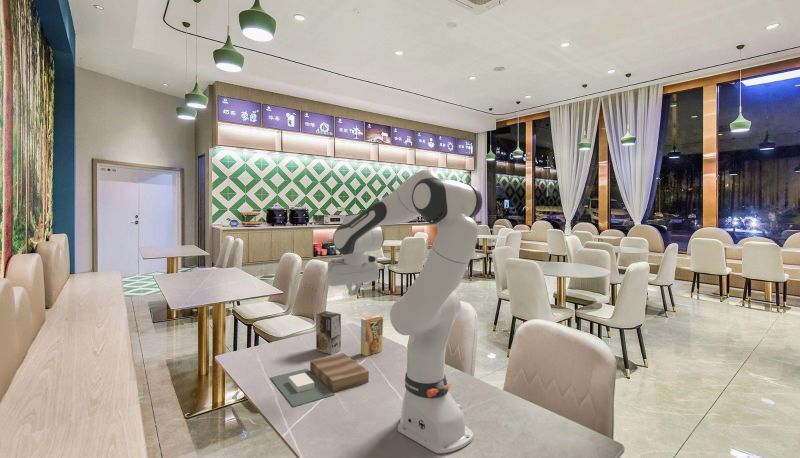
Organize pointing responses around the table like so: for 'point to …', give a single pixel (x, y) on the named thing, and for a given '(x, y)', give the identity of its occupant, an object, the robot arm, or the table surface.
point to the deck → (339, 372)
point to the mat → (303, 396)
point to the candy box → (371, 335)
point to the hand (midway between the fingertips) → (353, 295)
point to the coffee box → (328, 332)
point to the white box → (301, 382)
